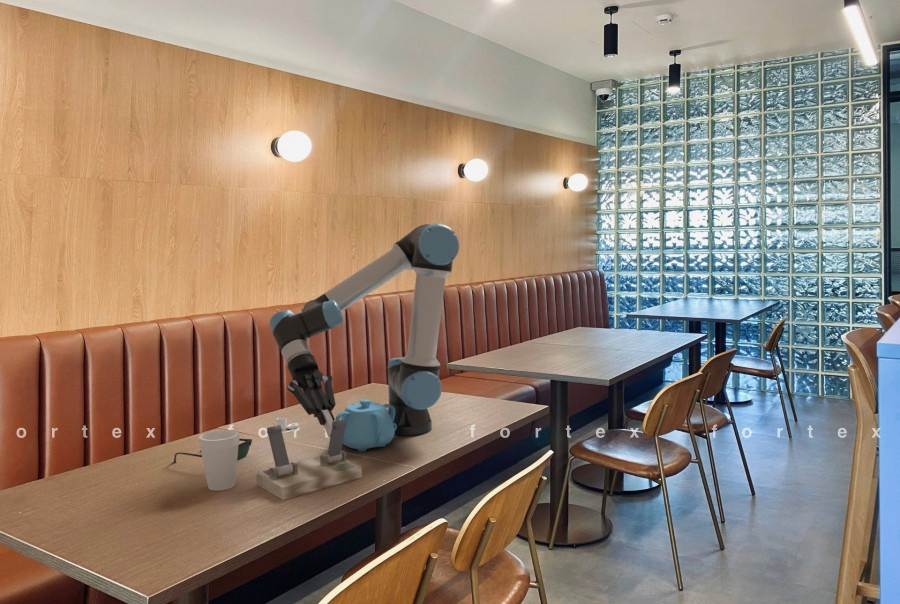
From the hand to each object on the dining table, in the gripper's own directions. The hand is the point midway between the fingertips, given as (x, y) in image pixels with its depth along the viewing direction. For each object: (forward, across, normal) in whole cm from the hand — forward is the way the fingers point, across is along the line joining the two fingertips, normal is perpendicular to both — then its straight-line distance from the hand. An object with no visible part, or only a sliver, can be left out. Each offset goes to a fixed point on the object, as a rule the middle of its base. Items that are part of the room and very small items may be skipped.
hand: (332, 433), depth 179 cm
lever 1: (+5, +13, -6) cm, 16 cm away
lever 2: (+5, -1, -6) cm, 8 cm away
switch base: (+7, +6, -8) cm, 13 cm away
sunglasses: (-16, +19, -33) cm, 41 cm away
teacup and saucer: (-24, -10, -41) cm, 48 cm away
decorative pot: (-3, -21, -19) cm, 28 cm away
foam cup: (-1, +24, -17) cm, 30 cm away
